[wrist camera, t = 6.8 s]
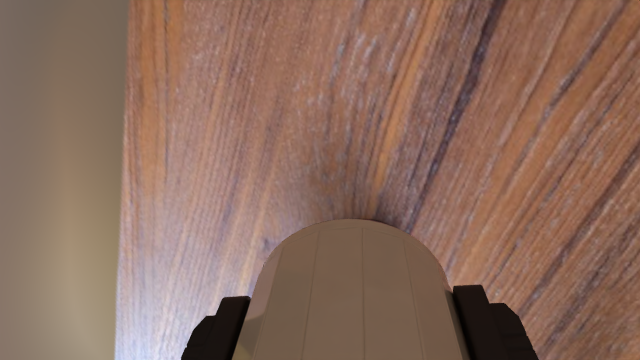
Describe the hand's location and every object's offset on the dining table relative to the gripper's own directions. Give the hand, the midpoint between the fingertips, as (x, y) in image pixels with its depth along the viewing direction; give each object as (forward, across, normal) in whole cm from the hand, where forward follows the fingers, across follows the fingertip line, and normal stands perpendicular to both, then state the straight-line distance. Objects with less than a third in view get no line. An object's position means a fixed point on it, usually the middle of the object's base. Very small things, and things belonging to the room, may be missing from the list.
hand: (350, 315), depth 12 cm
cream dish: (+1, 0, 0) cm, 1 cm away
